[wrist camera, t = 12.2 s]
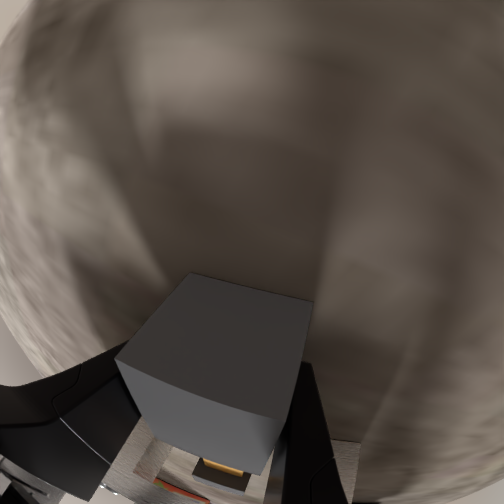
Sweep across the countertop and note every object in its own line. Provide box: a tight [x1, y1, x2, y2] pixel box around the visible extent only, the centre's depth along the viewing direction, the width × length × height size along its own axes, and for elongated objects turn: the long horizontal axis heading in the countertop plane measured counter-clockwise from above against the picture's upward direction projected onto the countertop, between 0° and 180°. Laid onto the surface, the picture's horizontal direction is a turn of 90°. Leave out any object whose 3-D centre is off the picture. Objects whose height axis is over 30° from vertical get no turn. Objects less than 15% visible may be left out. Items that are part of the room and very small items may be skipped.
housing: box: [99, 416, 361, 504], centre depth 11 cm, size 4×14×7 cm, turn 85°
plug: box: [114, 273, 313, 496], centre depth 10 cm, size 15×4×4 cm, turn 176°
